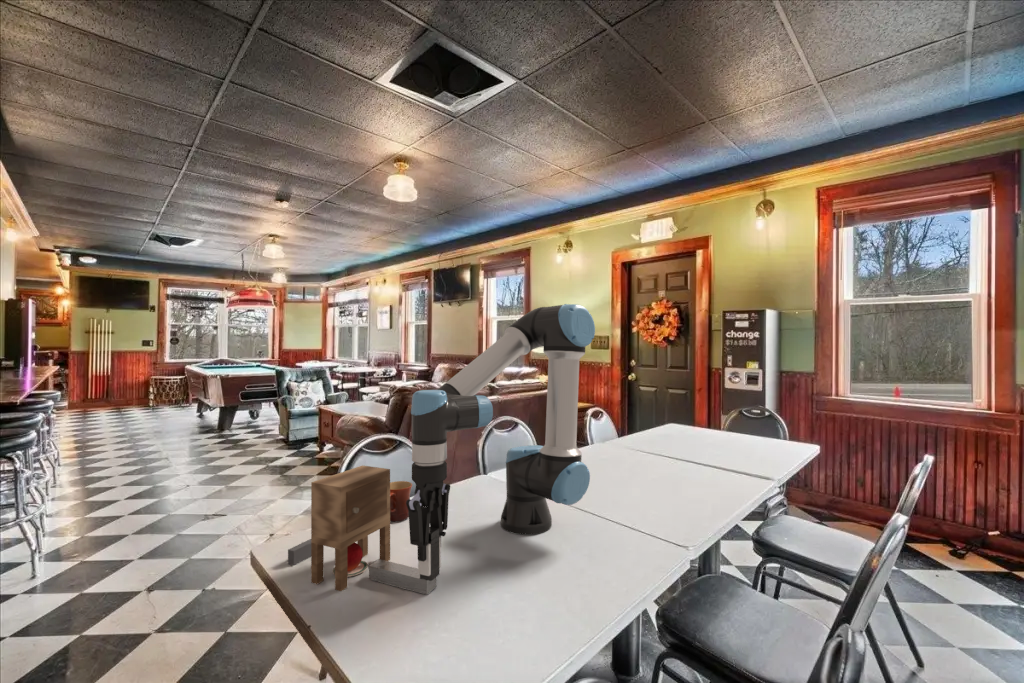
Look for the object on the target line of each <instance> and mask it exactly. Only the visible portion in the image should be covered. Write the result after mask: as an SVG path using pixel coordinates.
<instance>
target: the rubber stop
mask: <svg viewBox="0 0 1024 683" xmlns="http://www.w3.org/2000/svg"><path fill="white" fill-rule="evenodd" d="M310 558H311V538H309V539H308V540H305V541H303V542H301V543H299V544H297V545H294V546H293V547H291V548H288V549H287V564H288V565H290V566H293V567H294V566H296V565H298V564H300V563H302V562H304V561H306V560H307V559H310Z"/></svg>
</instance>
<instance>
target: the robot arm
mask: <svg viewBox="0 0 1024 683" xmlns="http://www.w3.org/2000/svg"><path fill="white" fill-rule="evenodd" d="M595 333H596V326H595V321H594V318H593V316H592V315H591V313H590V312H589V310H588V309H587V308H586V307H585V306H583V305H581V304H578V303H574V304H571V303H570V304H569V303H568V304H567V303H564V304H560V305H559V304H558V305H553V306H542V307H538V308H534V309H532V310H531V311H528V312H527V313H526V314H524V315H522V316H520V317H519V318H518V319H517V320H515V321H514V322H513V323H512V324H511V325H509V326H508V327H507V328H506V329H505V330H504V334H503V335H502V336H501V337H500V338H498V339H497V340H496V341H495V342H494V343H493V344H491V345H490V346H489V347H488V348H486V350H484V351H483V352H482V353H481V354H479V355H478V356H477V357H475V358H474V359H473V360H472V361H471V362H469V363H468V364H467V365H465V366H464V368H462V369H461V370H460V371H459V372H457V373H456V374H455V375H454V376H452V377H451V378H450V379H449V380H448V381H446V382H445V383H444V384H442V385H441V386H440V387H439V388H437V389H423V390H417V391H415V392H413V394H412V395H411V396H412V398H411V410H410V414H411V461H412V462H413V463H412V464H411V480H412V481H413V483H415V490H414V496H413V497H412V498H410V499H408V500H407V501H406V505H407V508H408V512H409V517H408V529H409V542H410V545H412V546H417V561H418V563H417V568H418V574H422V575H426V576H430V575H431V544H429V543H428V540H429V528H430V527H434V528H439V569H440V568H441V567H442V565H441V564H442V562H441V561H442V558H441V557H442V554H441V553H442V552H441V550H442V537H445V536H446V534H447V532H446V531H445V530H447V529H448V522H449V521H448V518H449V516H448V515H449V496H450V491H451V484H448V483H444V481H446V479H447V477H448V474H447V473H448V467H447V466H448V462H446V460H447V459H448V446H447V445H448V440H447V439H448V438H447V436H448V435H447V434H448V432H455V431H462V430H463V431H464V430H472V429H478V428H482V427H483V428H484V427H487V426H489V424H490V423H491V422H492V420H493V417H494V408H493V404H492V402H491V399H489V397H488V396H486V395H477V394H478V393H479V392H480V391H481V390H482V389H483V388H485V387H486V386H487V385H488V384H489V383H490V382H492V380H494V379H495V378H496V377H497V376H498V375H499V374H501V373H502V372H503V371H504V370H505V369H506V368H508V367H509V366H510V365H511V364H512V363H513V362H515V360H517V359H518V358H519V357H521V356H526V355H528V354H529V353H530V352H531V351H533V350H535V349H538V348H543V354H545V356H546V357H547V358H548V361H547V362H548V365H547V366H548V368H547V390H546V391H547V392H546V393H547V394H546V413H545V414H546V415H545V416H546V417H545V441H544V442H545V443H544V445H540V444H539V445H537V444H536V445H534V444H533V445H523V446H521V445H520V446H515V447H512V448H510V449H509V450H507V452H506V457H505V458H506V460H505V472H506V474H505V475H506V478H505V480H506V481H505V482H506V498H505V499H506V500H505V502H504V505H503V508H502V511H501V515H500V527H501V528H502V529H503V530H504V531H505V532H509V533H511V534H514V535H524V536H525V535H528V536H529V535H538V534H543V533H545V532H547V531H549V530H550V529H551V528H552V525H553V524H552V523H553V519H552V515H551V511H550V509H549V506H548V505H549V504H548V502H547V500H549V501H552V502H554V503H556V504H562V505H566V506H572V505H575V504H577V503H578V502H580V501H581V500H582V499H583V497H584V496H585V494H586V493H587V490H588V489H589V486H590V480H591V475H590V474H591V473H590V470H589V468H588V466H587V465H586V464H585V463H584V462H582V451H581V450H580V449H579V448H578V446H577V439H578V438H577V437H578V436H577V435H578V411H579V410H578V409H579V408H578V407H579V406H578V404H579V385H580V384H579V383H580V382H579V381H580V380H579V378H580V359H581V358H583V356H585V355H586V347H587V346H589V345H590V344H591V343H592V342H593V340H594V338H595Z"/></svg>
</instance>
